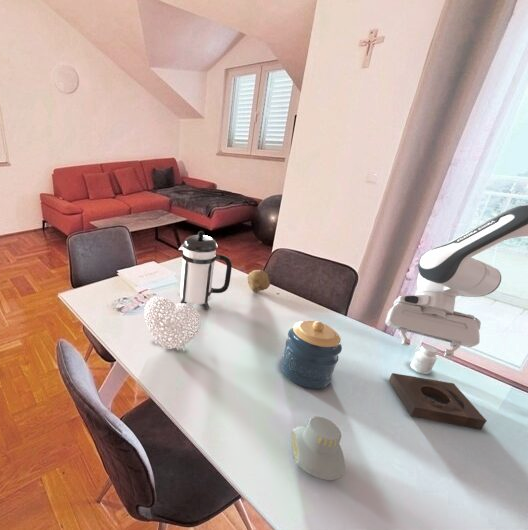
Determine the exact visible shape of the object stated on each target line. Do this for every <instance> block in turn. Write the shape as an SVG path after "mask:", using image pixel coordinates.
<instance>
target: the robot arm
mask: <svg viewBox="0 0 528 530" xmlns="http://www.w3.org/2000/svg"><path fill="white" fill-rule="evenodd" d="M521 237H522V238H523V237H528V204H525V205H518V206H515V207H512V208H510V209H507V210H505V211H503V212H501V213H499V214H497V215H495V216H494V217H492V218H490V219H488V220H486V221H484V222H482V223H481V224H479V225H477V226H475V227H474V228H472V229H470V230H468V231H466V232H464V233H463V234H460V235H459V236H457V237H455V238H454V239H452V240H450V241H447V242H445V243H443V244H441V245H437V246H435V247H433V248H430V249H429V250H427V251H425V252H424V253H423V254H422V255H421V256H420V258H419V259H418V263H417V269H418V274H417V278H416V279H417V280H416V286H417V289H416V291H415V293H414V294H408V295H407V294H402V295H400V296H398V297H397V298H396V299H395V300H394V301H393V306H392V307H391V308H390V309H389V310H388V312H387V314H386V318H385V321H384V323H385V325H386V326H387V327H388V328H391V329H395V330H398V334H399V336H400V338H401V345H403V346H406V347H409V346H410V345H411V339H410V338H408V337H407V335H406V334H407V333H411V334H415V335H419V336H423V337H427V338H431V339H435V340H439V341H442V342H447V343H450V344H449V346H450V347H451V348H450V349H448V348H446V349H444V350H443V357H446V358H449V359H452V358H454V354H455V352H456V350H458V349H459V348H460V347H461V346H462V347H466V348H473V347H476V346H478V345H479V344H480V330H481V324H482V323H481V320H480V319H479V318H477V317H475V315H472V314H466V313H463V312H460V311H459V312H458V311H455V304H456V298H457V297H459V296H460V297H467V298H474V297H475V298H479V297H485V296H487V295H491V294H492V293H493V292H495V291H496V290H497V289H498V288H499V287H500V285H501V283H502V273H501V272H500V270H499V269H498V268H495V267H493V266H492V265H490V264H487V263H486V262H483V261H482V260H478V259H475V258H474V256H476V255H478V254H481V253H482V252H484V251H486V250H488V249H490V248H492V247H495V246H496V245H498V244H500V243H502V242H505V241H507V240H510V239H515V238H521Z"/></svg>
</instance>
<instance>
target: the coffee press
mask: <svg viewBox="0 0 528 530" xmlns="http://www.w3.org/2000/svg"><path fill="white" fill-rule="evenodd" d="M217 250H218V244H217V241H216V240H215V239H214V238H213V237H211V236H208V235H205V231H203V230H200V231H198V232H197V234H194V235H189V236H187V237H186V238H185V239H184V240H183V242H182V244H181V245H180V247H178V251H181V252H182V253H181V254H182V255H181V257H182V262H181V263H182V264H181V277H180V287H179V289H180V290H179V296H180V298H181V301H180V302H179V303H184V304H189V305H197V306H198V305H199V306H200V305H202V306H203V308H204V310H208V309H209V308H210V305H209V301H210V299H211V295H212V294H222V293H224V292H226V291H227V290H228V288H229V286H230V282H231V275H232V267H233V266H232V261H231V259H230V258H229V257H228V256H226V255H224V254H217ZM216 260H220V261H223V262H225V264H226V271H225V279H224V282H223V286H221V287H220V288H214V287H212V285H213V279H214V277H213V276H214V271H215V269H214V268H215V263H216Z"/></svg>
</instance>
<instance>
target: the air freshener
mask: <svg viewBox="0 0 528 530" xmlns="http://www.w3.org/2000/svg"><path fill="white" fill-rule="evenodd" d="M341 439H342V433H341V430H340V428H339V427H338V426H337V424H335V423H334V422H333V421H331V420H329V419H328V418H325V417H324V416H323V417H322V416H312V417H310V418H309V419H308V421H307V424H306V425H300V426H296V427H295V428H293V429H292V430H291V432H290V444H291V453H292V455H293V459H294V462H295V463H296V465H297V466H298V467H299V468H300V469H301V470H303V471H304V472H306V473H307V474H309V475H310V476H312V477H315V478H317V479H320V480H324V481H333V480H338V479H339V478H341V477H343V476H344V475H345V473H346V463H345V457H344V453H343V449H342V447H341V445H340V442H341Z"/></svg>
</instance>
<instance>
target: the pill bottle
mask: <svg viewBox="0 0 528 530" xmlns="http://www.w3.org/2000/svg"><path fill="white" fill-rule="evenodd" d="M438 353H439V350H438V349H437V347H435V346H433V345H431V344H422V345H421V346H420V348H419V349H417V350H416V352H415V353H414V356H413V358H412V360H411V361H410V362H411V363H410V368H411V369H412V370H413V371H415V372H416V373H419V374H422V375H429V374H430V373H431V371H432V369H433V367H434V365H435V363H436V361H437V354H438Z"/></svg>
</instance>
